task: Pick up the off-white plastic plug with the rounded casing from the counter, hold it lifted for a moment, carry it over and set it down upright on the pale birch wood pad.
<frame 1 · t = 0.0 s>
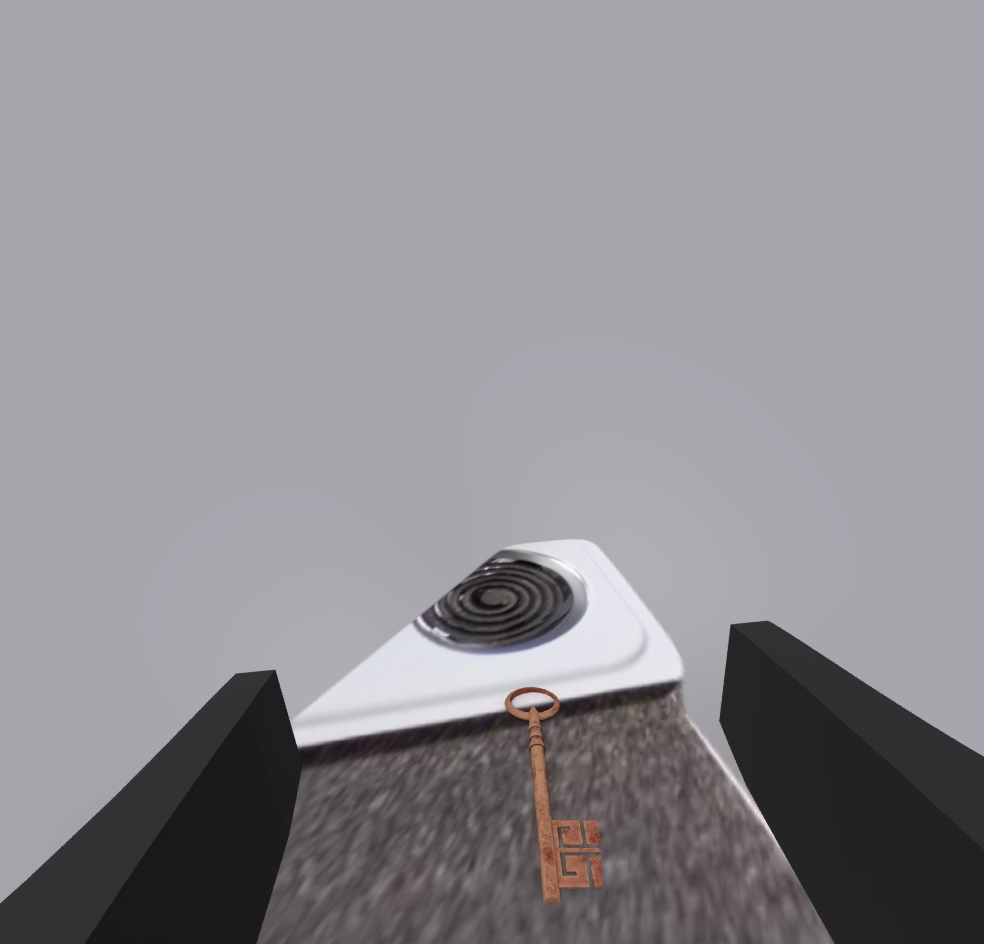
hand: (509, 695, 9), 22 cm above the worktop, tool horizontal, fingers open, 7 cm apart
key: (555, 779, 34), on the worktop
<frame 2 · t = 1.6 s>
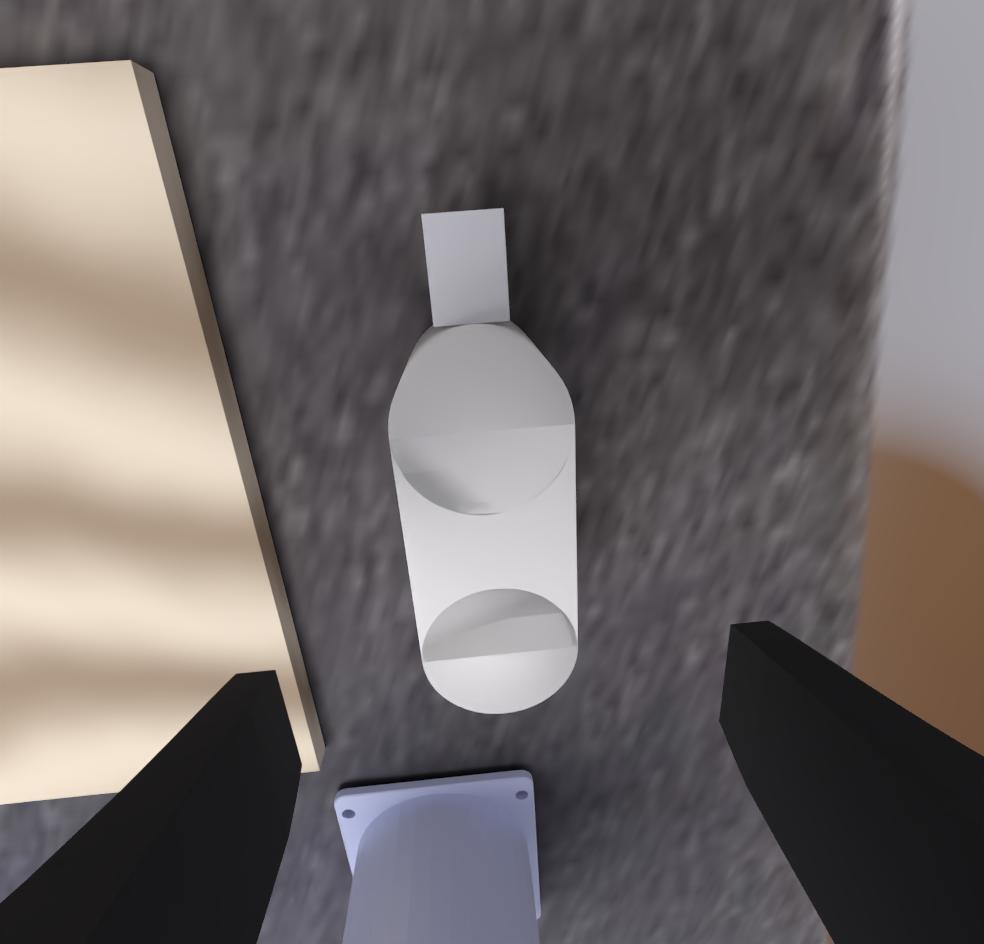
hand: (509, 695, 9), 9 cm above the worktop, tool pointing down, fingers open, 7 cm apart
pad: (32, 513, 17), on the worktop
plug: (482, 472, 18), on the worktop
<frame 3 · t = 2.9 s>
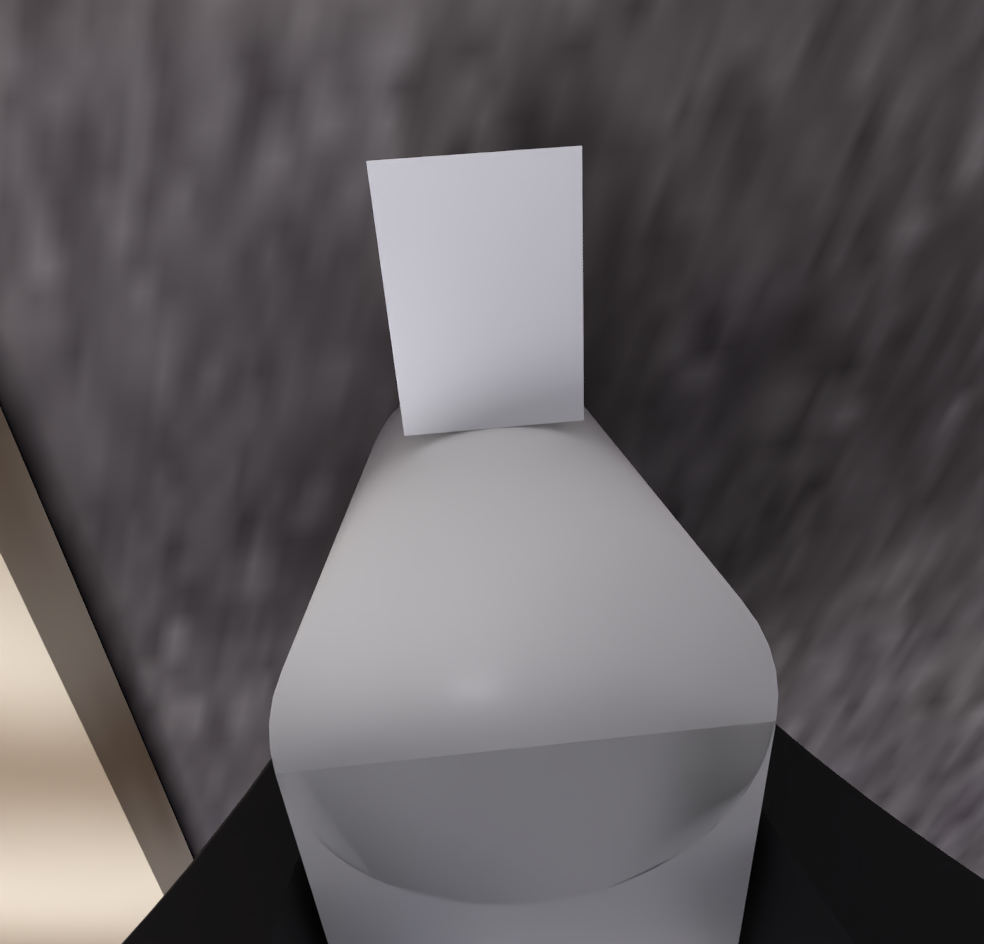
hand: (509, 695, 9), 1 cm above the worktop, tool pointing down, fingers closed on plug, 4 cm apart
plug: (502, 637, 10), on the worktop, touching gripper
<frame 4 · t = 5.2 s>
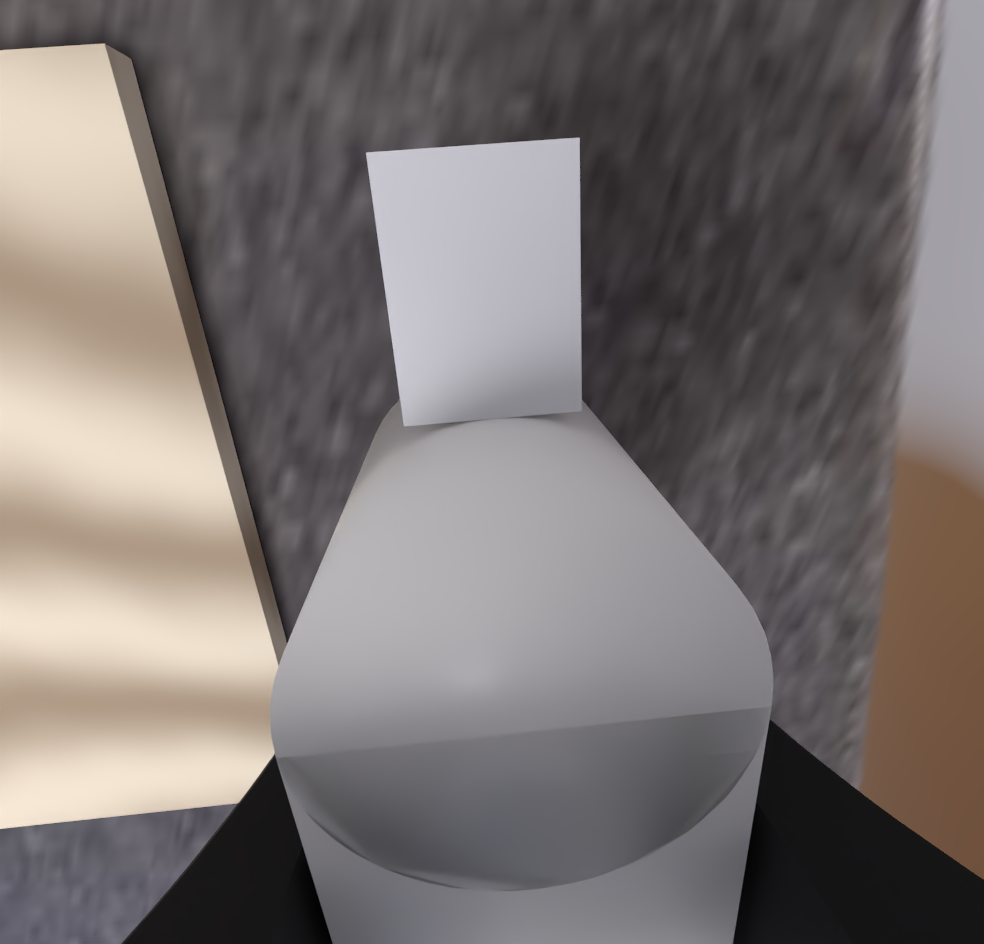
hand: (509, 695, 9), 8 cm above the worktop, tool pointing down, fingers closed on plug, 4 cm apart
pad: (9, 528, 16), on the worktop
plug: (501, 631, 10), point 7 cm above the worktop, touching gripper
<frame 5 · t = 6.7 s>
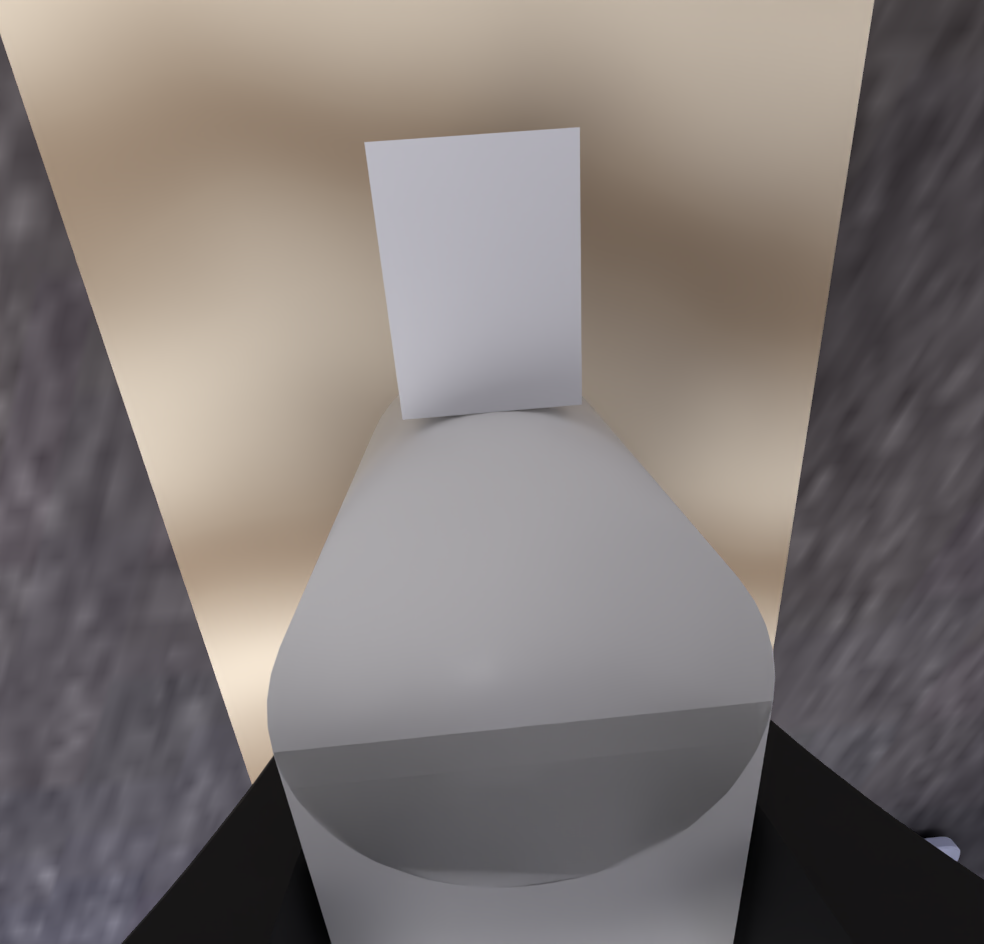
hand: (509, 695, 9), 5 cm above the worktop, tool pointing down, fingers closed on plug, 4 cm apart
pad: (491, 539, 14), on the worktop
plug: (501, 628, 10), point 4 cm above the worktop, touching gripper
when the fingers open (4 cm above the worktop, at t = 7.7 s): plug drops 1 cm, resting on pad.
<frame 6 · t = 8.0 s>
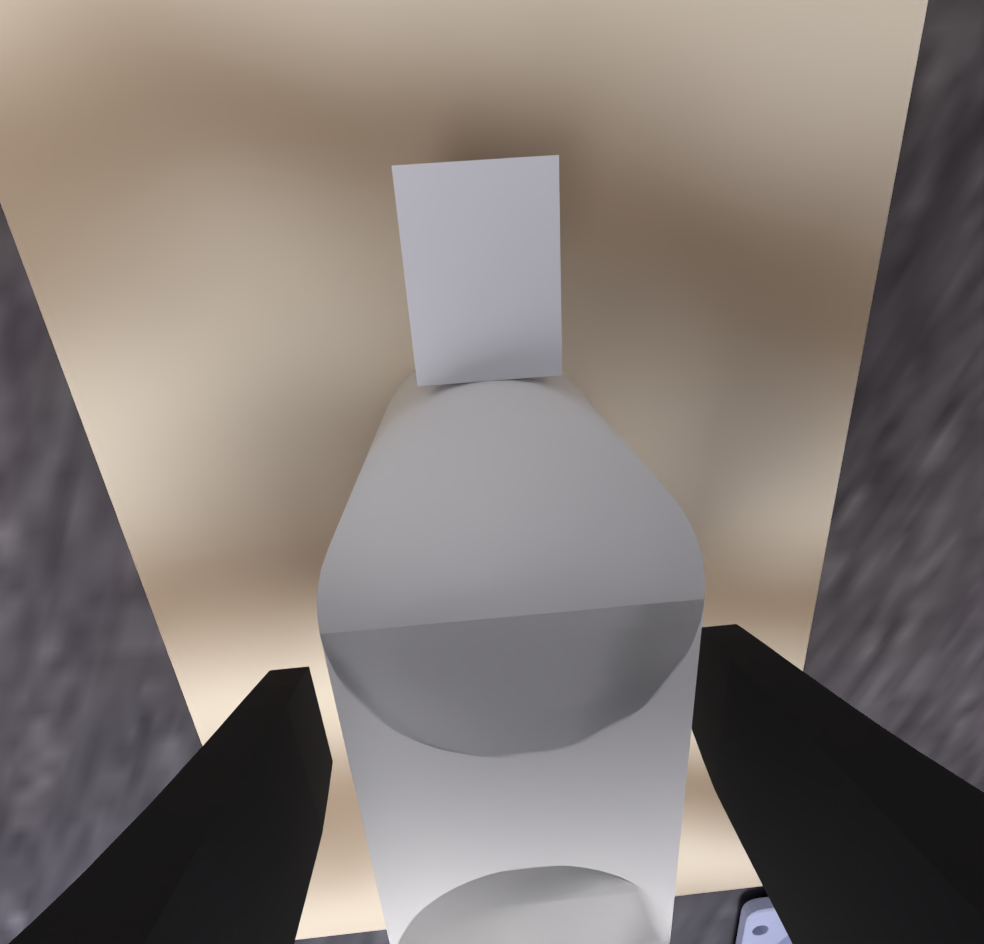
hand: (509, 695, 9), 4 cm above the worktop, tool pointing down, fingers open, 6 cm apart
pad: (493, 565, 12), on the worktop
plug: (497, 585, 11), point 1 cm above the worktop, touching pad
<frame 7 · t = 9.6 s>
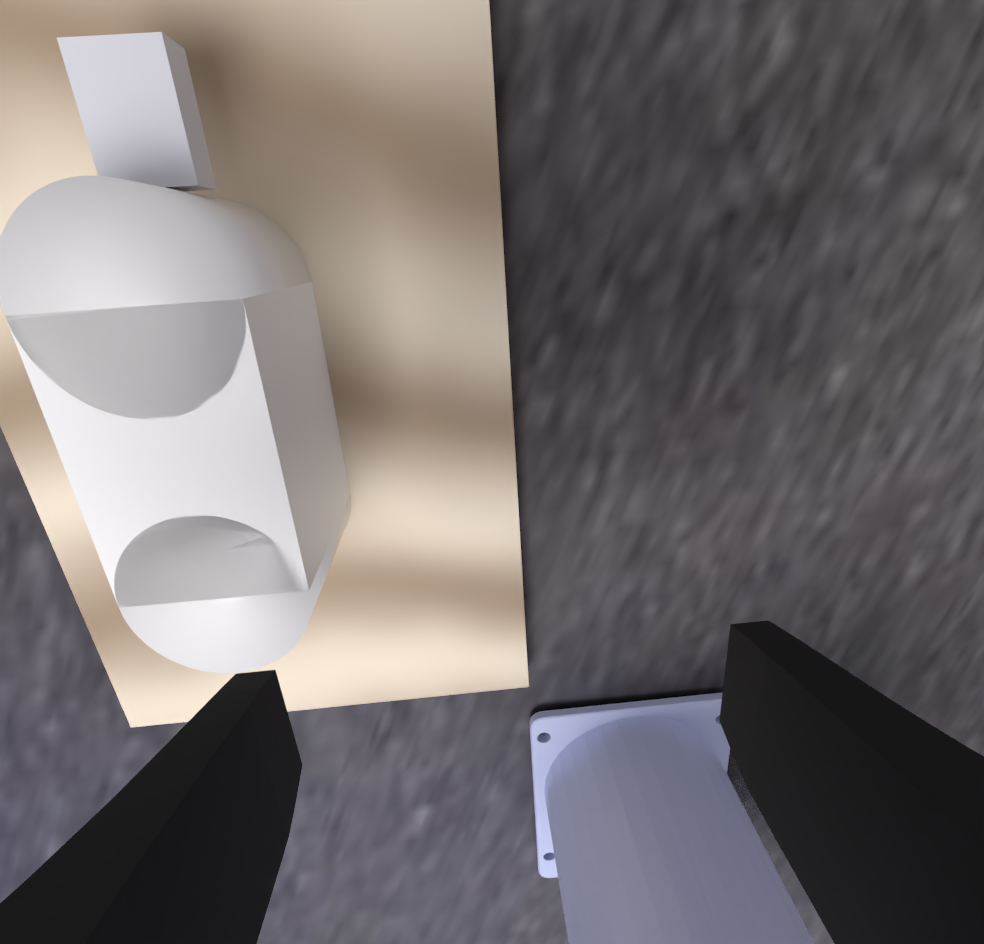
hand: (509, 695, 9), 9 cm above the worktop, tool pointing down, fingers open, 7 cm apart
pad: (271, 396, 16), on the worktop
plug: (259, 401, 15), point 1 cm above the worktop, touching pad
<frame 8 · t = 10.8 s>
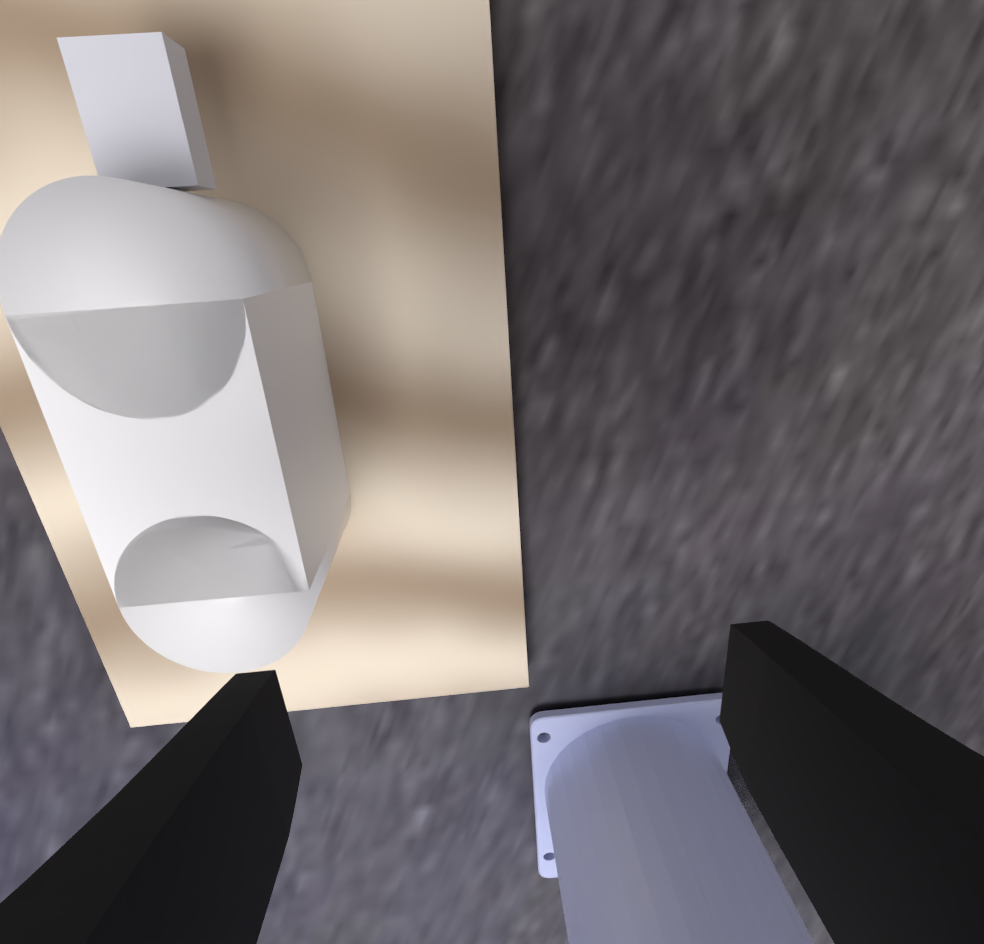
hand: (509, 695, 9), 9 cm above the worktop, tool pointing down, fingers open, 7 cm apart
pad: (271, 396, 16), on the worktop
plug: (259, 401, 15), point 1 cm above the worktop, touching pad
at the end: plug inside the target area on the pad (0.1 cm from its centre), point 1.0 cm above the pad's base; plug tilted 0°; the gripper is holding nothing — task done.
